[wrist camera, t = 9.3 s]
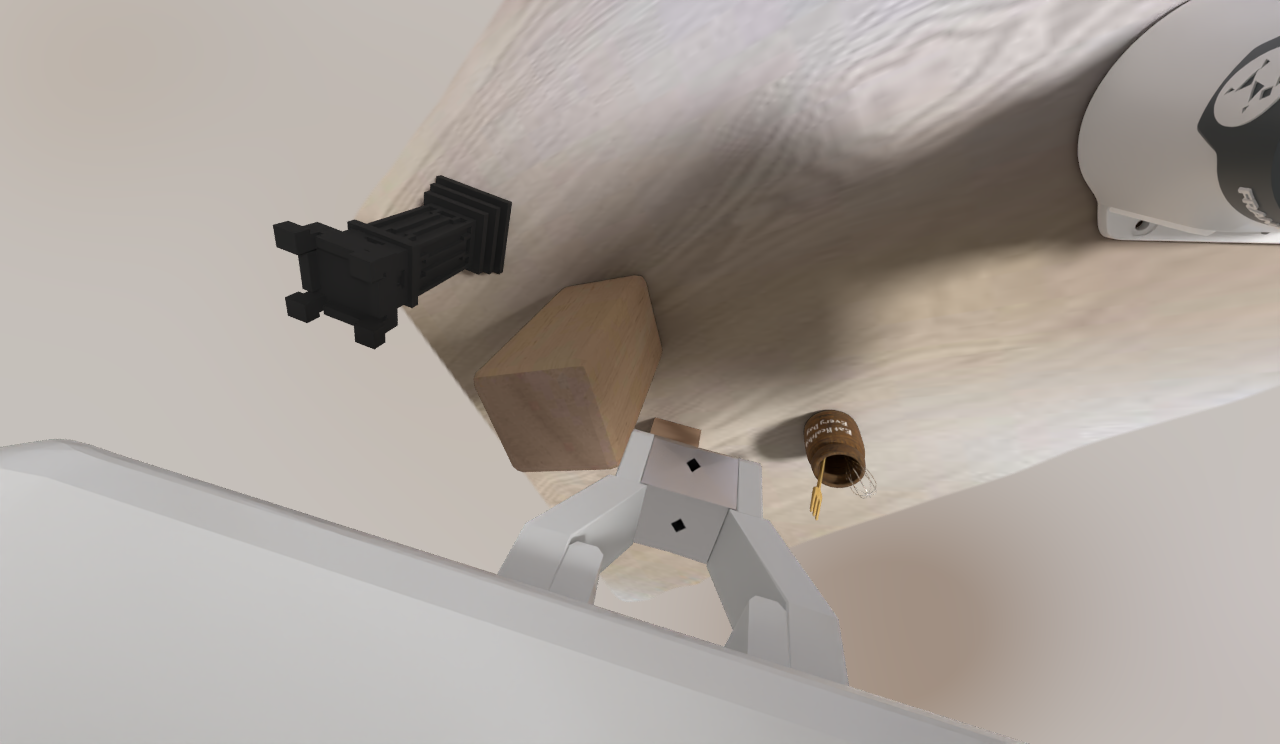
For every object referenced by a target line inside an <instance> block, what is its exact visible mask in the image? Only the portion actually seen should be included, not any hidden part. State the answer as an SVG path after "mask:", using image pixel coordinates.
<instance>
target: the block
mask: <svg viewBox="0 0 1280 744" xmlns="http://www.w3.org/2000/svg"><path fill="white" fill-rule="evenodd" d="M661 354H662V347H661V343H660V338H659V334H658V330H657V326H656V322H655V318H654V314H653V309H652V305H651V301H650V297H649V293H648V289H647V284H646V282H645V280H644V279H643V277H642V276H636V275H633V276H627V277H622V278H616V279H610V280H604V281H598V282H592V283H587V284H581V285H575V286H569V287H565V288H564V289H562V290H561V291H560V292H559V293H558V294H557V295H556V296H555V297H554V298H553V299H552V300H551V301H550V302H549V303H548V304H547V305H546V306H544V307H543V308H542V309H541V310H540V311H539V312H538V313H537V314H536V315H535V316H534V317H533V318H532V319H531V320H530V321H529V322H528V323H527V324H526V325H525V326H524V327H523V328H522V329H521V330H520V331H519V332H518V333H517V334H516V335H515V336H514V337H513V338H512V339H511V340H509V341H508V342H507V343H506V344H505V345H504V346H503V347H502V348H501V349H500V350H499V351H498V352H497V353H496V354H495V355H494V356H493V357H492V358H491V359H490V360H489V361H488V362H487V363H486V364H485V365H484V366H483V367H482V368H481V369H480V370H479V371H478V372H477V373H476V374H475V376H474V386H475V388H476V390H477V392H478V394H479V397H480V399H481V401H482V403H483V405H484V407H485V409H486V411H487V413H488V415H489V417H490V420H491V422H492V424H493V426H494V428H495V430H496V432H497V434H498V436H499V438H500V440H501V443H502V445H503V447H504V449H505V451H506V453H507V455H508V457H509V459H510V461H511V463H512V465H513V467H514V468H516V469H517V470H518V471H521V472H541V471H571V470H600V469H612V468H615V467H617V466H618V465H620V462H621V460H622V457H623V454H624V452H625V449H626V446H627V444H628V441H629V438H630V436H631V433H632V431H633V430H634V427H635V425H636V422H637V419H638V417H639V414H640V411H641V409H642V406H643V403H644V401H645V398H646V395H647V393H648V390H649V387H650V385H651V382H652V379H653V377H654V374H655V371H656V369H657V366H658V363H659V361H660V358H661Z"/></svg>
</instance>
